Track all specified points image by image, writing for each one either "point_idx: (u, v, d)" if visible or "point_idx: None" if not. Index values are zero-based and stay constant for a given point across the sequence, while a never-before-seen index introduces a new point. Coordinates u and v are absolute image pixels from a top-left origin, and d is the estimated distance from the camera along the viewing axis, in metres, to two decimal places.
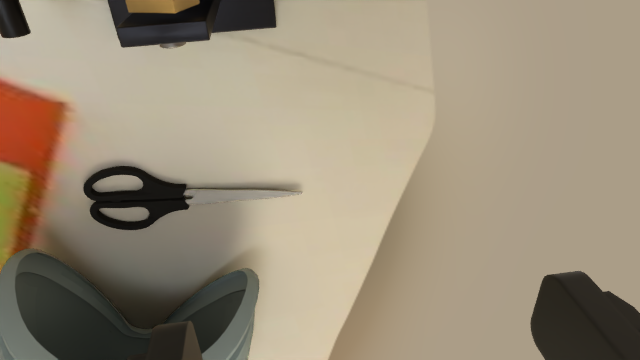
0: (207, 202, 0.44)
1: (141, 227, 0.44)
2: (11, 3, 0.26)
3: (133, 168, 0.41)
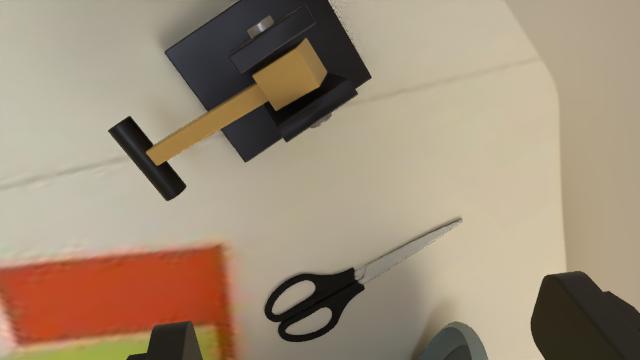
0: (378, 273, 0.42)
1: (330, 328, 0.42)
2: (164, 166, 0.28)
3: (300, 274, 0.41)
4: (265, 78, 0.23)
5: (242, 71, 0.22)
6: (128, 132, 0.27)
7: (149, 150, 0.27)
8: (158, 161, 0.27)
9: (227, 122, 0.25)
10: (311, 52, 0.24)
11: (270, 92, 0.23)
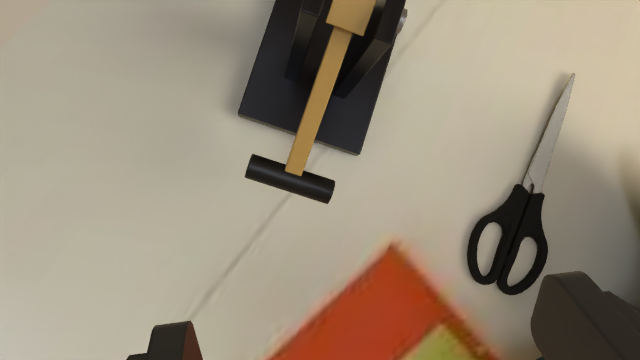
0: (544, 173, 0.39)
1: (545, 253, 0.38)
2: (307, 173, 0.28)
3: (478, 222, 0.38)
4: (337, 14, 0.24)
5: (318, 13, 0.23)
6: (261, 163, 0.28)
7: (286, 166, 0.28)
8: (299, 170, 0.28)
9: (331, 85, 0.26)
10: None
11: (348, 23, 0.24)
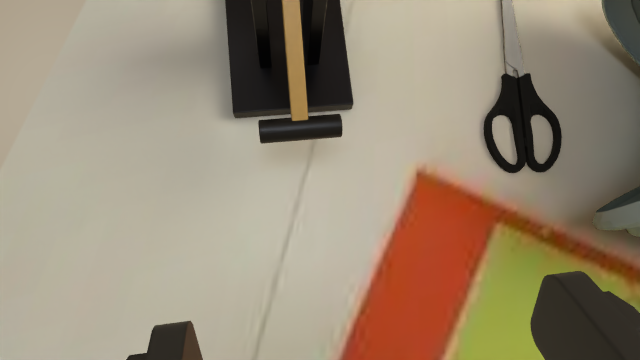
0: (520, 56, 0.41)
1: (557, 122, 0.40)
2: (312, 116, 0.30)
3: None
4: None
5: None
6: (269, 123, 0.30)
7: (292, 116, 0.30)
8: (304, 114, 0.30)
9: (299, 27, 0.29)
10: None
11: None
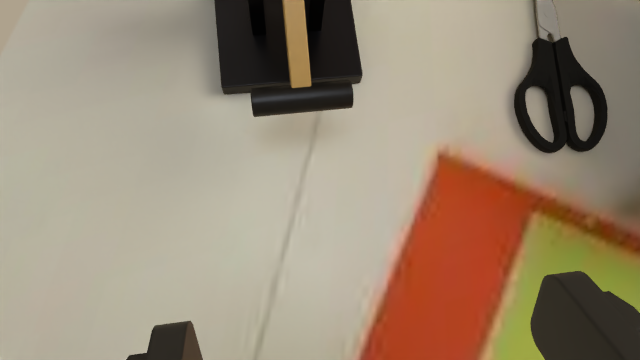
0: (555, 18, 0.35)
1: (601, 92, 0.34)
2: (316, 82, 0.25)
3: (516, 93, 0.34)
4: None
5: None
6: (264, 90, 0.24)
7: (291, 82, 0.24)
8: (307, 80, 0.24)
9: None
10: None
11: None
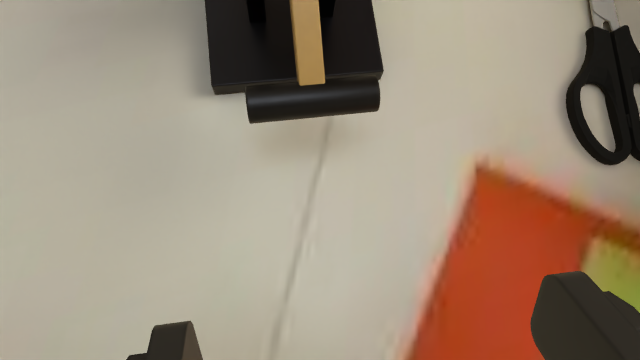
0: (612, 3, 0.30)
1: None
2: (331, 78, 0.19)
3: (568, 93, 0.28)
4: None
5: None
6: (263, 89, 0.18)
7: (299, 78, 0.19)
8: (319, 75, 0.19)
9: None
10: None
11: None
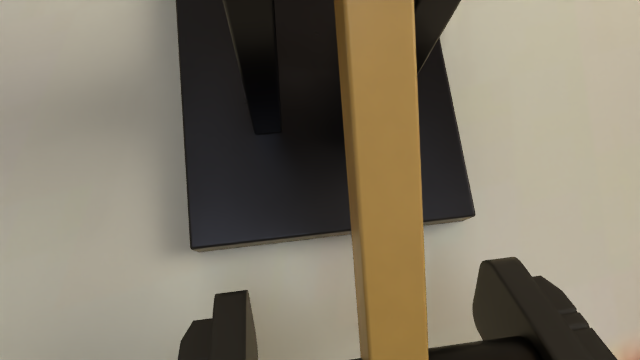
0: None
1: None
2: None
3: None
4: None
5: None
6: None
7: None
8: None
9: (409, 47, 0.07)
10: None
11: None
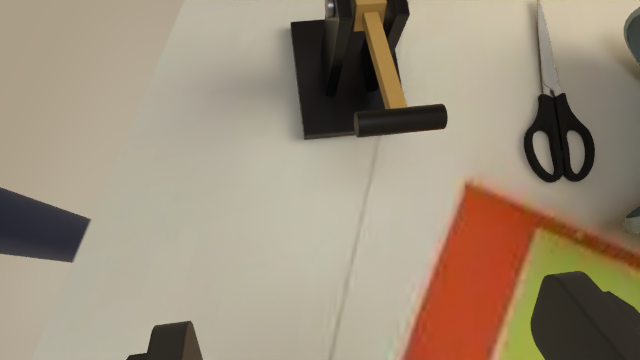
0: (556, 78, 0.46)
1: (590, 136, 0.45)
2: None
3: (525, 136, 0.45)
4: None
5: (352, 16, 0.31)
6: None
7: (390, 105, 0.28)
8: (403, 103, 0.28)
9: (385, 41, 0.31)
10: None
11: None
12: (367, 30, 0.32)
